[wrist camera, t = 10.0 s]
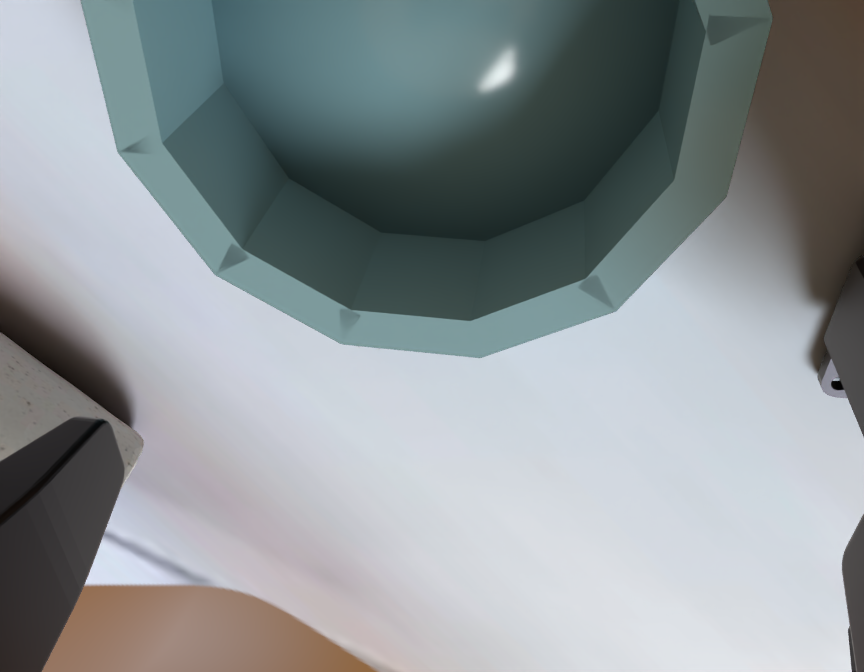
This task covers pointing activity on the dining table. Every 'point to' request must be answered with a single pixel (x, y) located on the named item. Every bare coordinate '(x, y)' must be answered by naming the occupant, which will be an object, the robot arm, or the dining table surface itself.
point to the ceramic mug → (47, 405)
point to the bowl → (432, 150)
